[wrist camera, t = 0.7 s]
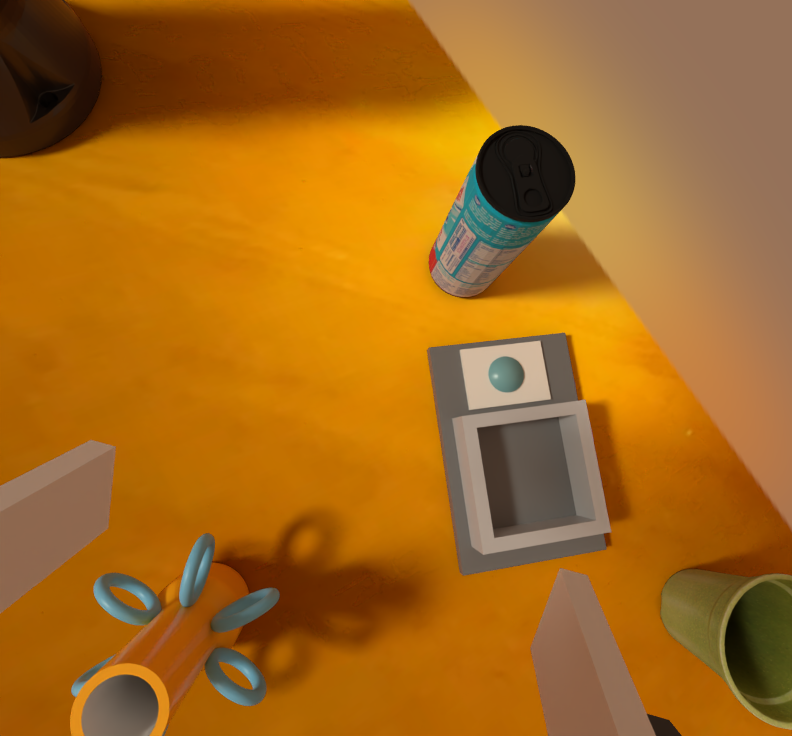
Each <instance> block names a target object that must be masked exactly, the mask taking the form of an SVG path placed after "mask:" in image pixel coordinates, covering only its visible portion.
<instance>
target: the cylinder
mask: <svg viewBox="0 0 792 736" xmlns="http://www.w3.org/2000/svg"><path fill="white" fill-rule="evenodd" d="M214 549H215V540H214V537H213V535H211V534H209V533H206V534H203V535H202V536H200V537H199V539H198V540H197V541H196V543H195V545H194V547H193V549H192V551H191V553H190V555H189V558H188V560H187V563H186V566H185V569H184V573H182V574H181V575H180V576H179V577H177V578H176V579H175V580H174V581H172V582H171V583H170V584H169V585H168V586H166V587H165V588H164V589H163V590H162V591H161V592H160V593H159V595H158V596H156V594H155V593H154V592H153V591H152V590H151V589H150V588H149V587H148V586H147V585H145V584H144V583H142V582H141V581H139V580H137V579H135V578H133V577H131V576H128V575H125V574H121V573H108V574H105V575H102V576H101V577H100V578H98V579H97V581H96V582H95V585H94V595H95V598H96V600H97V601H98V603H99V604H100V605H101V607H102V608H103V609H104V610H106V611H107V612H108V613H109V614H111V615H112V616H114V617H115V618H117V619H119V620H121V621H124V622H126V623H129V624H134V625H145V627H144V628H143V629H142V630H141V631H140V632H139V633H138V634H137V635H136V636H135V637H134V638H133V639H132V640H131V641H130V642H129V643H127V644H126V645H125V646H124V647H123V648H122V649H121V650H120V651H119V652H118V653H117V654H115V655H113V656H111V657H110V658H108V659H106V660H104V661H103V662H101V663H99V664H98V665H96V666H94V667H93V668H91V669H90V670H88V671H87V672H86V673H84V674H83V675H82V676H80V677H79V678H78V679H77V680H76V681H75V683H74V684H73V686H72V690H71V691H72V694H73V696H75V697H76V699H75V701H74V704H73V707H72V711H71V717H70V729H71V735H72V736H164V735H165V732H166V730H167V728H168V725H169V723H170V721H171V719H172V718H173V716H174V714H175V713H176V711H177V709H178V708H179V706H180V704H181V703H182V701H183V699H184V698H185V696H186V694H187V693H188V691H189V689H190V688H191V686H192V684H193V683H194V681H195V679H196V678H197V676H198V675H199V673H200V671H203V670H205V671H206V674H207V677H208V678H209V680H210V682H211V683H212V685H213V686H214V687H215V688H216V689H217V690H218V691H219V692H220V693H221V694H222V695H223V696H225V697H226V698H228V699H229V700H231V701H233V702H235V703H237V704H240V705H245V706H253V705H256V704H258V703H260V702H261V701H262V700H263V698H264V697H265V694H266V682H265V679H264V677H263V675H262V673H261V672H260V670H259V669H258V668H257V667H256V666H255V664H254V663H253V662H251V661H250V660H249V659H248V658H247V657H245V656H244V655H242V654H241V653H239V652H237V651H235V650H232V649H231V648H232V647H233V645H234V643H235V641H236V640H237V638H238V636H239V634H240V632H241V630H242V628H243V626H244V625H245V624H247V623H249V622H251V621H253V620H255V619H256V618H258V617H260V616H261V615H263V614H264V613H266V612H267V611H268V610H270V609H271V608H272V607H273V606H274V605H275V604H276V603H277V602H278V600H279V597H280V593H279V591H278V590H277V589H276V588H272V587H270V588H265V589H261V590H258V591H255V592H253V593H251V594H249V590H248V587H247V585H246V583H245V581H244V579H243V578H242V577H241V575H240V574H239V573H238V572H237V571H235V570H234V569H233V568H231V567H229V566H227V565H224V564H221V563H214V562H212V560H213V555H214ZM110 586H114V587H119V588H122V589H125V590H127V591H129V592H131V593H133V594H134V595H136V596H137V597H138V598H139V599H140V600H141V601H142V602H143V603H144V604H145V606H146V608H147V610H138V609H135V608H132V607H130V606H128V605H126V604H124V603H123V602H121V601H120V600H119V599H118V598H116V597H115V596H114V594H113V593H112V592H111V590H110V588H109V587H110ZM219 662H225V663H228V664H230V665H232V666H234V667H236V668H237V669H238V670H240V671H241V672H242V673H243V674H244V675H245V676H246V677H247V678H248V679H249V681H250V682H251V684H252V687H253V690H249V689H245V688H243V687H241V686H239V685H237V684H236V683H234V682H233V681H232V680H230V679H229V678H228V677H227V676H226V675H225V673H224V672H223V671H222V669H221V668H220V666H219Z"/></svg>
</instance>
